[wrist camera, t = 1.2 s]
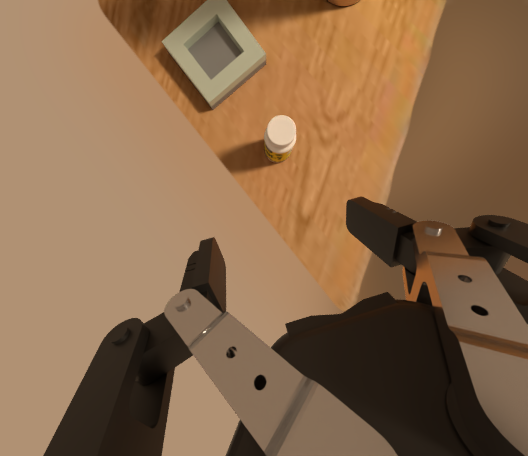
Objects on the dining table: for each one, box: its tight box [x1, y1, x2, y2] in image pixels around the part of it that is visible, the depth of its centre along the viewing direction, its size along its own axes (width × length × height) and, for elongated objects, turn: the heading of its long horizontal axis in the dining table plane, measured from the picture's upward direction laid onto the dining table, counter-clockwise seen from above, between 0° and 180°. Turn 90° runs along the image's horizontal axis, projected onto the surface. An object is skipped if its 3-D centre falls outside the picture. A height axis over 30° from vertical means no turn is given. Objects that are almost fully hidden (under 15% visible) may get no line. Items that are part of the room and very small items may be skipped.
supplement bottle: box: [264, 115, 296, 163], centre depth 29 cm, size 5×5×8 cm
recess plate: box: [162, 0, 266, 110], centre depth 31 cm, size 12×12×2 cm
